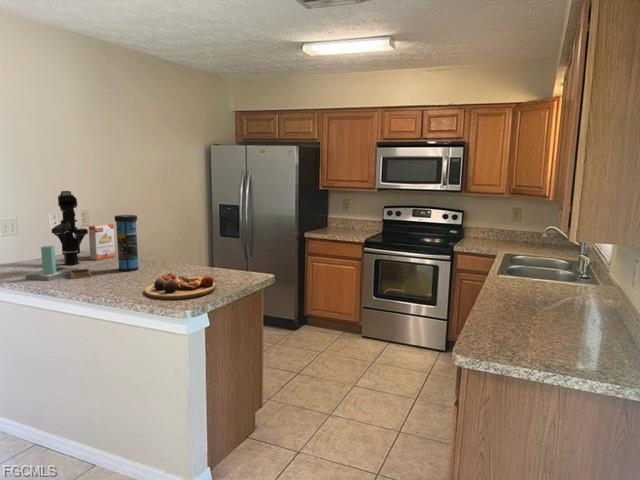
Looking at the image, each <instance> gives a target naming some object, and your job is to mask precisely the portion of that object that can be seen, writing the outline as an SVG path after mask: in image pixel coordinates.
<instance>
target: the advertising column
mask: <svg viewBox="0 0 640 480" xmlns="http://www.w3.org/2000/svg"><path fill="white" fill-rule="evenodd" d="M137 221H138V215H136V214H119V215H114V222H115V226H116V227H115V228H116V240H117V245H116V246H117V257H118V259H117V260H118V272H122V273H130V272H136V271H138V270H139V253H138V233H137Z"/></svg>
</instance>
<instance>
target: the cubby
mask: <svg viewBox="0 0 640 480" xmlns="http://www.w3.org/2000/svg"><path fill="white" fill-rule="evenodd" d="M68 276H69V277H70V279H71V280H75V279H85V278H91V277H92V271H91V270H90V269H89V268H83V269H79V270H72V271H69V275H68Z"/></svg>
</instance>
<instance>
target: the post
mask: <svg viewBox="0 0 640 480" xmlns="http://www.w3.org/2000/svg"><path fill="white" fill-rule="evenodd" d="M55 249H56V248H55V245H44V246H41V247H40V251H41V252H40V253H41V264H42V270H43V275H52V274H55V273H56V267H57V265H56V262H57V261H56V252H55Z"/></svg>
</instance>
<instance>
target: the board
mask: <svg viewBox="0 0 640 480" xmlns="http://www.w3.org/2000/svg"><path fill="white" fill-rule="evenodd" d="M72 270H80V268H79V267H67V266H56V273H55V274H52V275H43V269H42V270H39V271H35V272H32V273H27V274H25V279H26V280H35V281H36V280H38V281H54V280H56V279H60V278H62V277H63V278H64V277H66V276H69V271H72Z"/></svg>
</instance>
